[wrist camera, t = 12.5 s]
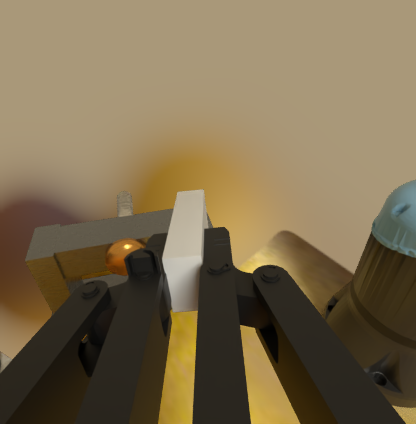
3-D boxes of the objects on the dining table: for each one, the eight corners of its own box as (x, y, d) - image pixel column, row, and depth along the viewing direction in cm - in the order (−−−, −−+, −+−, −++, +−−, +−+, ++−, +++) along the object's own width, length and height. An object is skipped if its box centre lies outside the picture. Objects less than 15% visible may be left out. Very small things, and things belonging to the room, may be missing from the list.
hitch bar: (208, 260, 52) (207, 196, 44) (221, 298, 46) (223, 232, 38) (59, 289, 48) (28, 224, 40) (51, 335, 41) (12, 269, 34)
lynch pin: (143, 207, 50) (138, 180, 47) (151, 271, 39) (146, 241, 36) (110, 212, 49) (103, 185, 46) (110, 279, 38) (100, 249, 35)
